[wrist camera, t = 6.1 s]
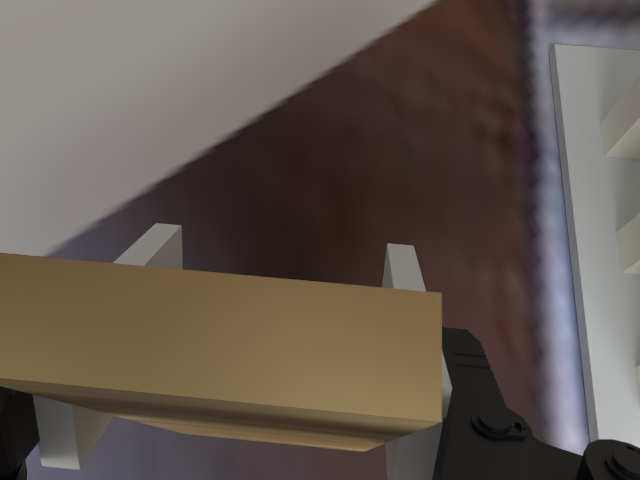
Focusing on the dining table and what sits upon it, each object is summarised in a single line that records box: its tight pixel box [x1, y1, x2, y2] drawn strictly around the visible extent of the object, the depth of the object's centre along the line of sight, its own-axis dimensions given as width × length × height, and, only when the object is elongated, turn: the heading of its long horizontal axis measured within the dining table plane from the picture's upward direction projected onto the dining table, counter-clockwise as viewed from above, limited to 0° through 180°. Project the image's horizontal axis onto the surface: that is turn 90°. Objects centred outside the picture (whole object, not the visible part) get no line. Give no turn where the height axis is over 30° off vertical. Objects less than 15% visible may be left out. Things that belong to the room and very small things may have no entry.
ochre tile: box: [0, 253, 442, 452], centre depth 12 cm, size 2×6×12 cm, turn 85°
